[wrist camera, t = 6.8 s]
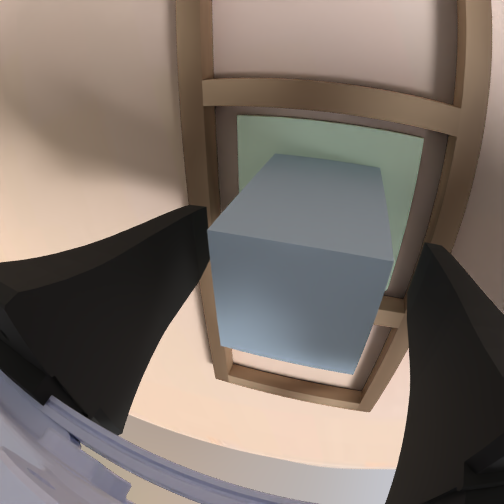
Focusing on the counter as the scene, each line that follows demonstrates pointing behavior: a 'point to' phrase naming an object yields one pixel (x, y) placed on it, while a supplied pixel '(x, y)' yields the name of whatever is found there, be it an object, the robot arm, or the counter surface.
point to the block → (302, 262)
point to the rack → (338, 149)
